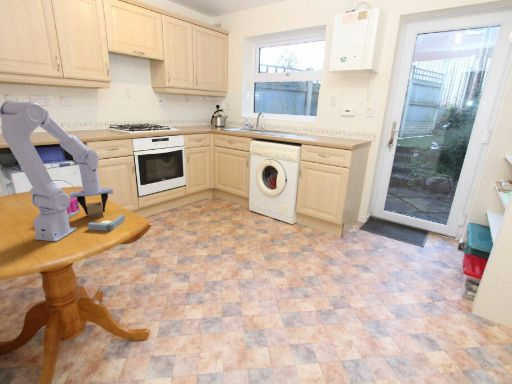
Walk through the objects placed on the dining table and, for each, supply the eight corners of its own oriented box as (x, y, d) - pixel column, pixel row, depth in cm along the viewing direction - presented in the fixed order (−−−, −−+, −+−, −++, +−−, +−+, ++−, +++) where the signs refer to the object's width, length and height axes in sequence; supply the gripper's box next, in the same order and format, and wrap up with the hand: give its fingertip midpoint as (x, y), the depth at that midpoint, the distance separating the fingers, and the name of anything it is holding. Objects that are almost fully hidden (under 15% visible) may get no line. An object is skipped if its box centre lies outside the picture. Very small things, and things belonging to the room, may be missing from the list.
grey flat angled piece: (110, 231, 99) (110, 225, 98) (88, 229, 100) (87, 223, 99) (125, 220, 108) (124, 215, 107) (104, 218, 109) (104, 213, 108)
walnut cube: (103, 217, 110) (101, 205, 109) (88, 219, 108) (86, 207, 106) (102, 212, 114) (101, 201, 113) (89, 214, 112) (87, 203, 110)
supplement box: (80, 211, 115) (63, 223, 104) (66, 210, 115) (47, 222, 104) (78, 198, 113) (60, 209, 102) (63, 197, 113) (43, 208, 102)
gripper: (110, 175, 113) (114, 206, 117) (68, 179, 106) (74, 211, 110) (111, 180, 107) (116, 212, 111) (67, 184, 100) (73, 218, 105)
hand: (95, 212), depth 111 cm, fingers open, 5 cm apart
